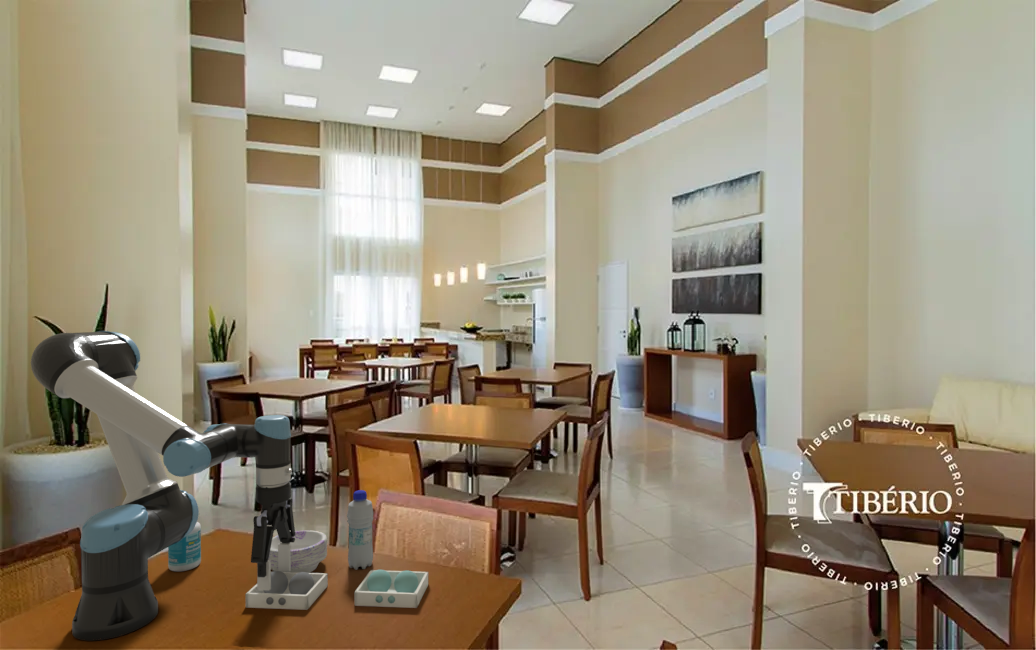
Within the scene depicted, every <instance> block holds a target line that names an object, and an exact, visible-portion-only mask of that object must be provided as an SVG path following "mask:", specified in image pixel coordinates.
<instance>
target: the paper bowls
mask: <svg viewBox="0 0 1036 650" xmlns="http://www.w3.org/2000/svg"><path fill="white" fill-rule="evenodd" d="M327 537H328V536H327V535H326V533H324V532H321V531H317V530H311V529H309V530H305V529H304V530H295V536H294V537H292V538H295V541H294V542H290V556H291V570H290V571H289V572H307V573H313V571H315V570H316V569H317V567H318V565H319V563H321V562H323V561H324V560H325V559H326V558H327V556H328V538H327ZM279 543H282V542H280V539H279V536H278V534H277V535H275V536H273V538H272V543H271V548H270V553H269V558H268V560H271V570H272V572H274V571H278V544H279ZM281 572H287V571H281Z"/></svg>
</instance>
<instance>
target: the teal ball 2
mask: <svg viewBox="0 0 1036 650" xmlns="http://www.w3.org/2000/svg"><path fill="white" fill-rule="evenodd" d="M401 571H402V572H400V573H399V574H398V575H397V576H396V578H395V582H394V587H395V590H396V592H403V593H414V592H415V591H416V589H417V587H418V578H417V576H416V574H415V573H414V572H412V571H411V570H408V569H407V570H401Z"/></svg>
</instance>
